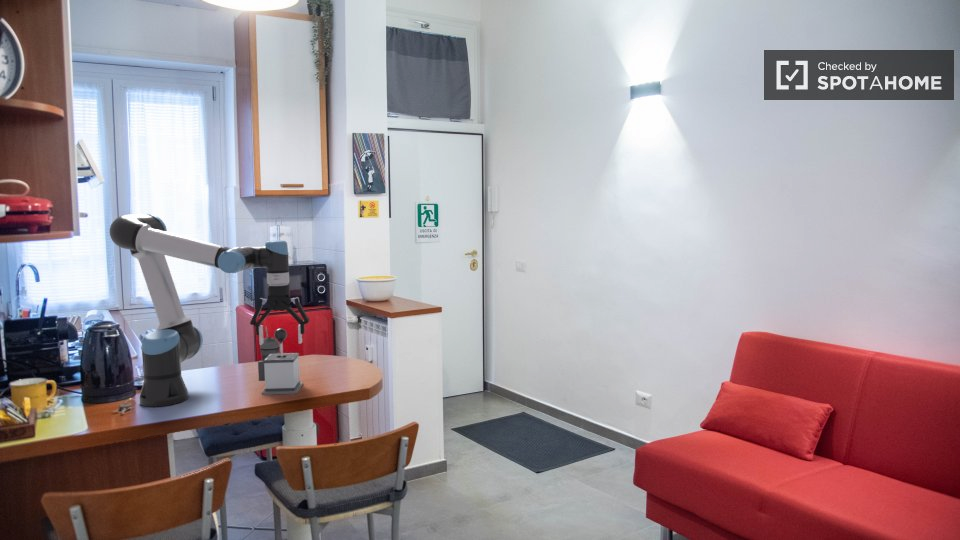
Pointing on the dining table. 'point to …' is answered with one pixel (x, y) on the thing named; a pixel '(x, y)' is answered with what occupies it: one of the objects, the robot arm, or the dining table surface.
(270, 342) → the beverage cup
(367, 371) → the dining table surface
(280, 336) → the lever with ball knob
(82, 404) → the dining table surface
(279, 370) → the grey cube on plate
